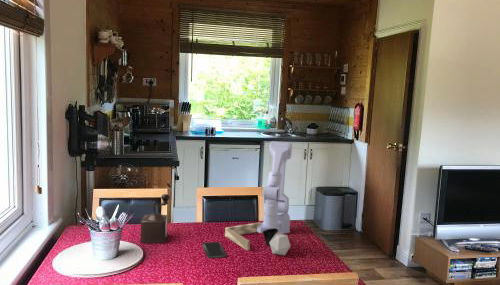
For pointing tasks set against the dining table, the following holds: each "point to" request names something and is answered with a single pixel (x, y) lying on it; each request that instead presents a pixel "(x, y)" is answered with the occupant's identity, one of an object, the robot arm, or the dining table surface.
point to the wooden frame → (236, 232)
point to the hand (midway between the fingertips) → (268, 245)
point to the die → (279, 244)
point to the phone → (214, 250)
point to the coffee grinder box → (155, 225)
